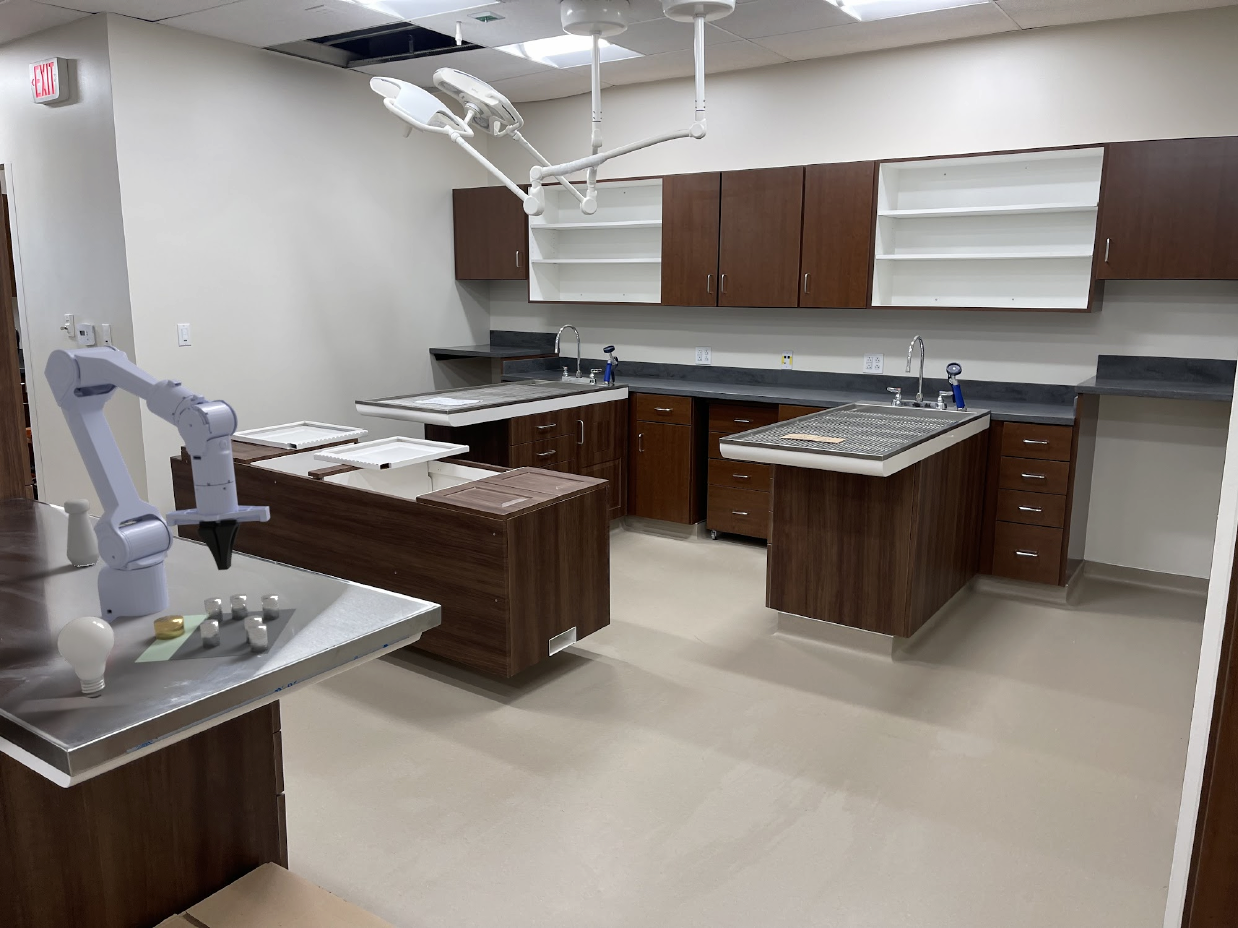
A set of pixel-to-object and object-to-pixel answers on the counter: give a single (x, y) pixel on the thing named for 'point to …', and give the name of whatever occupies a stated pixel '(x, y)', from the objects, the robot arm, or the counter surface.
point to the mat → (229, 639)
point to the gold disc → (169, 627)
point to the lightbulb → (87, 650)
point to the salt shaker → (80, 533)
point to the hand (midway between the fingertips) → (224, 568)
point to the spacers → (239, 611)
